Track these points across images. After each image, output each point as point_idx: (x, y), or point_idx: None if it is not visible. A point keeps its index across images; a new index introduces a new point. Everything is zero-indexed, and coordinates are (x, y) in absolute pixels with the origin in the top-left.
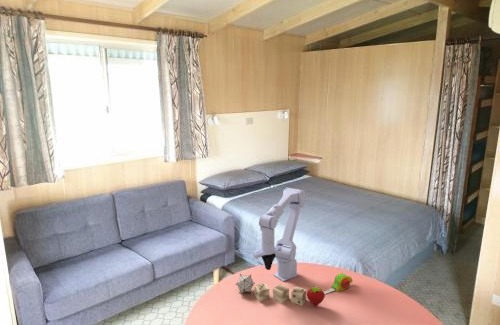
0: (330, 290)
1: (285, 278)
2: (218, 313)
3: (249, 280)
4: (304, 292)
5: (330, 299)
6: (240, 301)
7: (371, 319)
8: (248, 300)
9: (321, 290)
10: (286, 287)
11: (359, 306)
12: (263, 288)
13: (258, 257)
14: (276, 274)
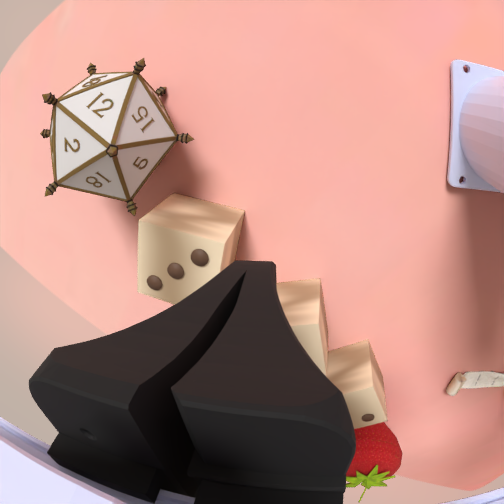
0: (499, 379)
1: (476, 175)
2: (10, 223)
3: (102, 181)
4: (359, 426)
5: (445, 409)
6: (87, 200)
7: (413, 477)
8: (123, 216)
9: (390, 475)
10: (321, 366)
11: (454, 450)
12: (177, 290)
13: (2, 425)
14: (466, 84)
